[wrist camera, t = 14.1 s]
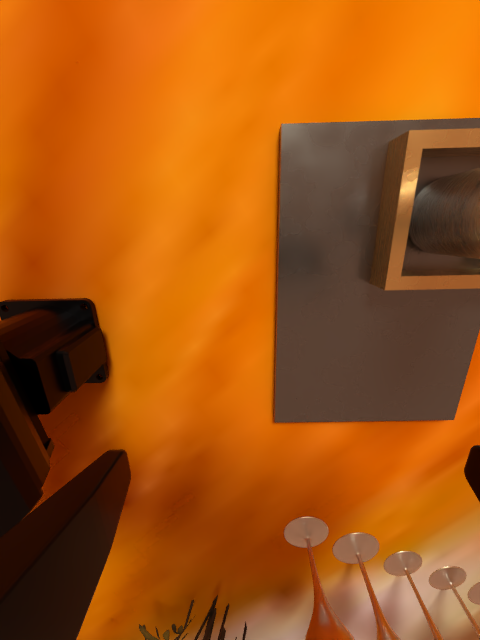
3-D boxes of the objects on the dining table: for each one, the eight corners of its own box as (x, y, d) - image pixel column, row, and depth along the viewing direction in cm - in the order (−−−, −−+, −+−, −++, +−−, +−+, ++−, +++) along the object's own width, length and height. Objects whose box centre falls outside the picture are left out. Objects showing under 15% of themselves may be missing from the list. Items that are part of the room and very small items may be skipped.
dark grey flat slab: (273, 415, 22) (277, 441, 20) (279, 128, 16) (287, 109, 13) (446, 413, 22) (474, 438, 20) (525, 121, 16) (583, 100, 13)
